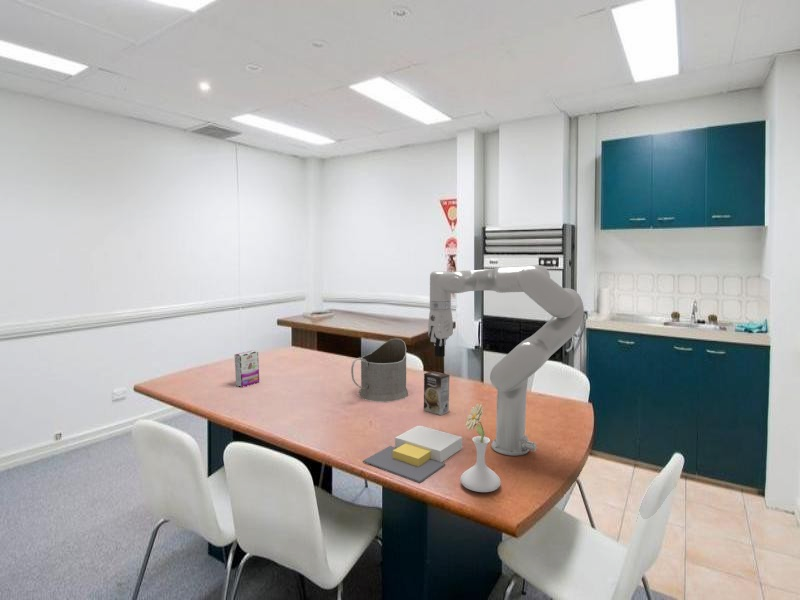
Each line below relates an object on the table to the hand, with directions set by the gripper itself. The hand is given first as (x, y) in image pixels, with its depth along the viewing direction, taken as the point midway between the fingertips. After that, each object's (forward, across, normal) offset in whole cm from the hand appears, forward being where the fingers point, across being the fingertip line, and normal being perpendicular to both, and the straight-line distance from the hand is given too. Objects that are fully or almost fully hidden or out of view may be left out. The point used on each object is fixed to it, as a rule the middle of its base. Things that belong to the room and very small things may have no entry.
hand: (439, 356), depth 165 cm
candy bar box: (+29, -4, +112) cm, 116 cm away
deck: (+29, -13, -4) cm, 32 cm away
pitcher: (+29, +21, +47) cm, 59 cm away
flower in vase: (+29, -26, -30) cm, 49 cm away
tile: (+28, -24, -4) cm, 37 cm away
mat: (+29, -27, -4) cm, 40 cm away
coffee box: (+29, +20, +14) cm, 38 cm away
